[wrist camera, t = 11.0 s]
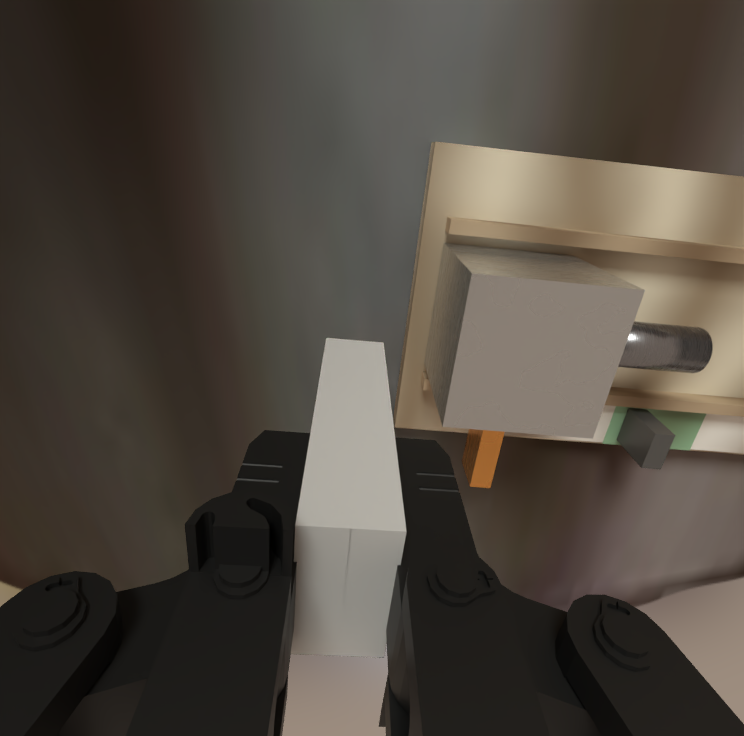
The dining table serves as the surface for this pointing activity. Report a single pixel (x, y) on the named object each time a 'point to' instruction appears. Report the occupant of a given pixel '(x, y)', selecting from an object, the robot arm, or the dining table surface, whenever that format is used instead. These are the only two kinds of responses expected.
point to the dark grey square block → (645, 438)
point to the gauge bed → (608, 252)
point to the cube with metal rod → (537, 346)
